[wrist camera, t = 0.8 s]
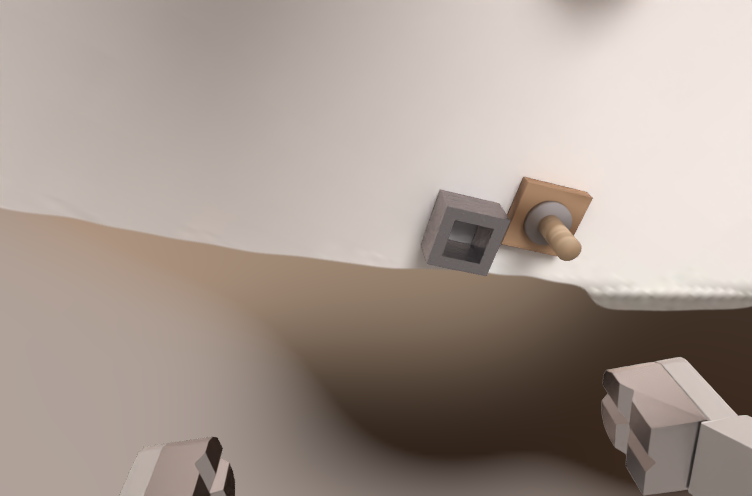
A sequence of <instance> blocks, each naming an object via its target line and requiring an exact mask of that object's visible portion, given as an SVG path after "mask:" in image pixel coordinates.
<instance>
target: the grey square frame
mask: <svg viewBox="0 0 752 496" xmlns="http://www.w3.org/2000/svg"><path fill="white" fill-rule="evenodd" d="M455 220H456V221H461V222H465V223H470V224H474V225H478V228H477V230H476V233H475V235H474V238H473V240H472V243H471V245H470V244H465V243H461V242H456V241H451V240H448V238H449V235H450V232H451V230H452V227H453V224H454V222H455ZM509 223H510V219H509V218H508V216H507V214H506V213H505V211H504V210H503V208H502V207H501V205H500V204H499V203H495V202H491V201H487V200H482V199H478V198H474V197H470V196H465V195H461V194H457V193H452V192H448V191H444V190H440V191H439V194H438V197H437V200H436V203H435V206H434V208H433V211H432V214H431V217H430V220H429V223H428V226H427V229H426V231H425V234H424V237H423V240H422V243H421V246H422V250H423V254H424V257H425V261H426V264H429V265H434V266H439V267H444V268H449V269H454V270H459V271H464V272H468V273H473V274H478V275H483V276H487V274H488V271H489V269H490V267H491V265H492V262H493V260H494V258H495V255H496V253H497V251H498V248H499V246H500V244H501V241H502V239H503V237H504V234H505V232H506V230H507V228H508V225H509Z"/></svg>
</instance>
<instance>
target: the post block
mask: <svg viewBox="0 0 752 496" xmlns="http://www.w3.org/2000/svg"><path fill="white" fill-rule="evenodd" d="M592 199H593V198H592V197H591V196H590V195H589V194H588V193H587V192H584V191H580V190H576V189H572V188H568V187H564V186H560V185H555V184H551V183H547V182H543V181H539V180H535V179H531V178H527V177H523V179H522V182H521V184H520V186H519V189H518V191H517V193H516V196H515V198H514V200H513V203H512V205H511V207H510V210H509V212H508V214H507V216H508V218H509V219H510V223H509V225H508V228H507V230H506V232H505V234H504V237H503V239H502V241H501V244H503V245H508V246H513V247H517V248H522V249H526V250H531V251H535V252H540V253H545V254H549V255H554V256H558V257H559V258H560V259H561V260H564V261H570V260H573V259H575V258H576V257H577V256H578V255H579V254H580V252H581V244H580V243H579V242H578V240H577V239H576V238H575V237H574V234H575V232H576V230H577V228H578V226H579V224H580V222H581V220H582V218H583V216H584V214H585V212H586V210H587V208H588V206H589V205H590V203H591V201H592Z"/></svg>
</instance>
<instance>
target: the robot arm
mask: <svg viewBox="0 0 752 496" xmlns="http://www.w3.org/2000/svg"><path fill="white" fill-rule="evenodd" d="M603 386H604V388H605V389H606V391H607V393H608V394H607V395H606V396H605V398H604V399H603V400H602V417H603V422H604V426H605V429H606V431H607V433H608V436H609V438H610V440H611V441H612V443H613V445H614V447H615V448H617V449H619V450H620V451H622V452H624V453H625V454H627V456H626V467H627V469H628V471H629V472H630V474H631V476H632V477H633V479H634V481H635V482H636V484H637V486H638V487H639V489H640V491H641V493H642V494H643V495H650V494H657V493H665V492H672V491H680V490H688V489H689V490H688V492H689V493H690V494H692V495H693V496H752V418H751V417H749V416H747V415H742V416H737V414H736V413H735V412H734V411H733V410H732V409H731V408H730V407H729V406H728V405H727V404H726V403H725V402H724V400H723V399H722V398H721V397H720V396H719V395H718V394H717V393H716V392H715V391H714V390H713V388H712V387H711V386H710V385H709V384H708V383H707V382H706V381H705V380H704V379H703V378H702V377H701V375H700V374H699V373H698V372H697V371H696V370H695V369H694V368H693V367H692V366H691V365H690V364H689V363H688V362H687V360H685V359H683V358H681V357H679V358H672V359H666V360H661V361H656V362H650V363H644V364H639V365H633V366H627V367H621V368H616V369H611V370H606V371H605V373H604V375H603ZM222 449H223V448H222V446H221V444H220V442H219V440H218V438H217V437H207V438H200V439H193V440H186V441H179V442H172V443H167V444H161V445H154V446H147V447H143V448H142V450H140V451H139V453H138V454H137V456H136V458H135V461H134V463H133V465H132V467H131V470H130V472H129V474H128V476H127V479H126V481H125V483H124V486H123V488H122V490H121V492H120V494H119V496H235V479H234V474H233V470H232V468H231V466H230V463H229V462H227V461H225V460H224V459H222V458H220V457H221V453H222Z"/></svg>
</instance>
